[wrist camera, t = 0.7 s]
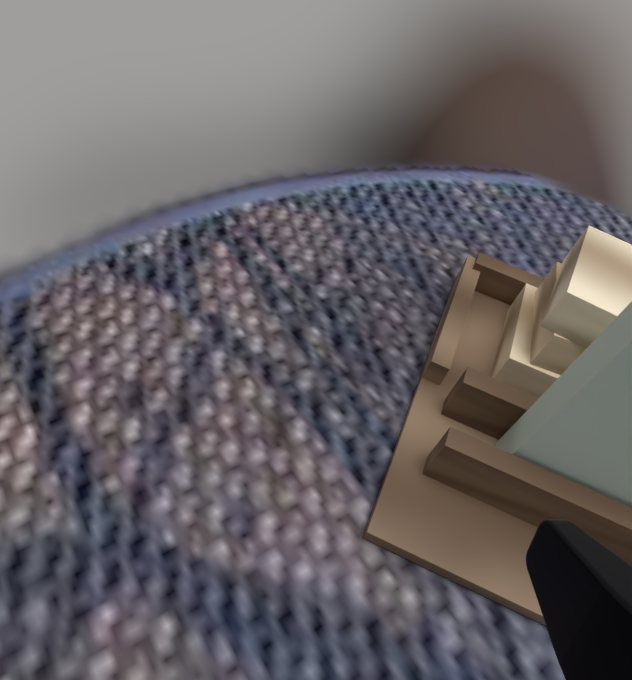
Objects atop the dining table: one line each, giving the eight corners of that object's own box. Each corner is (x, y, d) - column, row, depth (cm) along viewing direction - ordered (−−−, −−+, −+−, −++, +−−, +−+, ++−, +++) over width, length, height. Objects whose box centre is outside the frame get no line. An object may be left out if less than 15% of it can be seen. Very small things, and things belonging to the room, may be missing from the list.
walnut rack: (724, 712, 22) (806, 705, 19) (362, 537, 24) (385, 507, 21) (700, 383, 33) (749, 346, 30) (454, 281, 35) (478, 237, 32)
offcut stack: (653, 460, 28) (767, 386, 22) (488, 388, 29) (557, 299, 23) (652, 367, 32) (749, 285, 26) (508, 307, 33) (571, 215, 27)
